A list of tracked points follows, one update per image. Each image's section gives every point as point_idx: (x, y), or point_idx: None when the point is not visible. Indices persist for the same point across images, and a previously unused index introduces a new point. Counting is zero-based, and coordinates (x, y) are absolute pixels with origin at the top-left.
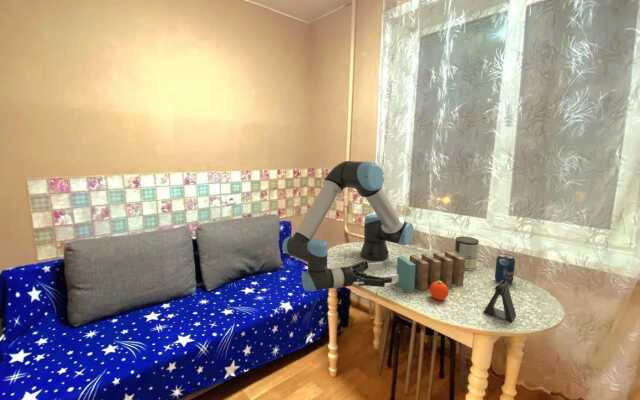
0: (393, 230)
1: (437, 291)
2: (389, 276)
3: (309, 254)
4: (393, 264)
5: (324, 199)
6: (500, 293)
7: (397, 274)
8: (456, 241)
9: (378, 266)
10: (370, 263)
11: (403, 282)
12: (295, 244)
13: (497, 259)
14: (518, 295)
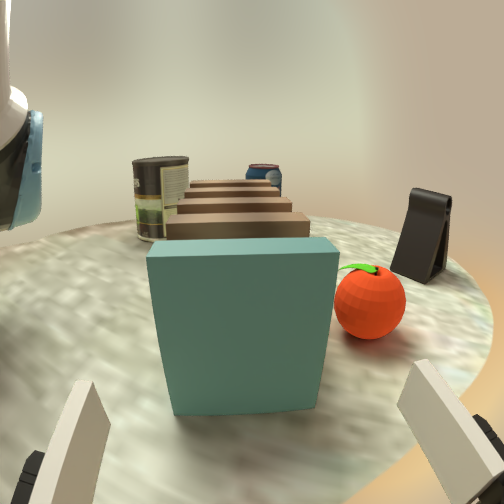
0: None
1: (404, 303)
2: (472, 421)
3: None
4: (17, 331)
5: None
6: (447, 215)
7: (414, 362)
8: (145, 167)
9: (93, 439)
10: (37, 492)
11: (256, 388)
12: None
13: (258, 176)
14: (326, 231)
